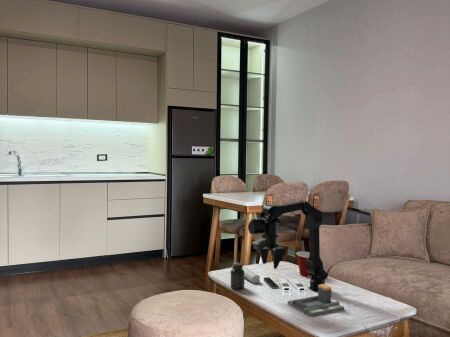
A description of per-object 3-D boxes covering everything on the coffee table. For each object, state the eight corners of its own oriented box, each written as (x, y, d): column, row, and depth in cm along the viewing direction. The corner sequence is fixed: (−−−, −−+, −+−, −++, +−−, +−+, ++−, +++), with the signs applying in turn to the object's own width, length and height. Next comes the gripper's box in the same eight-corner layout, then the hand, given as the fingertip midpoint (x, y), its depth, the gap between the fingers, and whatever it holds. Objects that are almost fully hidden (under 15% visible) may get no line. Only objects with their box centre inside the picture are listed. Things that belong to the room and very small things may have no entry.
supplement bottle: (229, 286, 205) (230, 262, 205) (243, 285, 206) (243, 262, 206) (231, 290, 199) (231, 266, 198) (245, 290, 199) (245, 265, 199)
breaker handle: (323, 299, 184) (323, 283, 184) (330, 303, 179) (331, 287, 179) (318, 300, 182) (318, 284, 182) (325, 304, 178) (325, 288, 178)
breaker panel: (319, 298, 190) (319, 291, 190) (344, 309, 176) (344, 302, 176) (287, 303, 182) (287, 297, 182) (310, 316, 168) (310, 309, 167)
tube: (263, 276, 210) (241, 263, 233) (254, 273, 208) (233, 261, 231) (260, 286, 210) (238, 272, 233) (251, 284, 208) (230, 270, 231)
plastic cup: (311, 279, 219) (312, 256, 218) (292, 276, 224) (293, 254, 224) (318, 274, 228) (319, 252, 228) (300, 271, 234) (300, 250, 233)
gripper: (244, 230, 193) (244, 263, 193) (266, 237, 176) (265, 273, 177) (265, 228, 198) (264, 260, 198) (287, 235, 181) (287, 270, 182)
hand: (269, 266), depth 189 cm, fingers open, 9 cm apart
